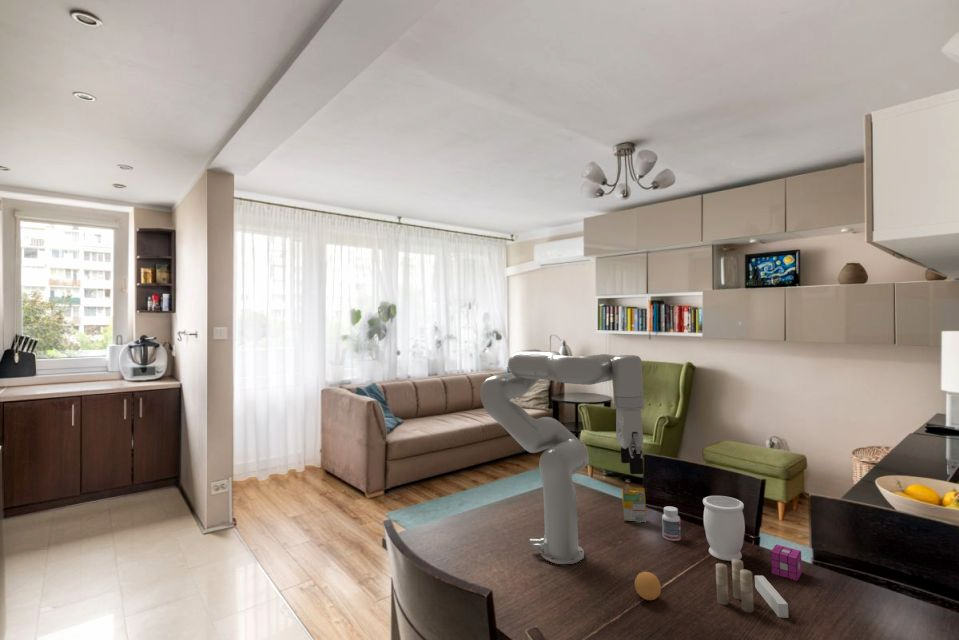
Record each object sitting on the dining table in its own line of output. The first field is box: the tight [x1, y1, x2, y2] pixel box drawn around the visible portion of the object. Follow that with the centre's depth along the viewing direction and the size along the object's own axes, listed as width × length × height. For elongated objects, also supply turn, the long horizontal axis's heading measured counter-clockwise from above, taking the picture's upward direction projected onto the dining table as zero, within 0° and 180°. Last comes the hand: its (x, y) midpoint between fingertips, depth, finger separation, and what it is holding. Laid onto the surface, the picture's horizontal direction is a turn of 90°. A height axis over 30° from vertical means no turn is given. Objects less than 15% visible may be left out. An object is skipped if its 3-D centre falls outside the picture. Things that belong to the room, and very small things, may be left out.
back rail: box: [754, 575, 789, 619], centre depth 110 cm, size 2×12×3 cm, turn 172°
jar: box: [702, 495, 746, 562], centre depth 133 cm, size 11×10×15 cm
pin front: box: [715, 562, 729, 606], centre depth 111 cm, size 2×2×8 cm
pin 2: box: [740, 568, 755, 613], centre depth 108 cm, size 2×2×8 cm
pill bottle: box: [661, 506, 682, 542], centre depth 145 cm, size 5×5×9 cm
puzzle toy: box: [770, 544, 803, 582], centre depth 122 cm, size 6×6×6 cm
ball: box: [634, 571, 662, 601], centre depth 113 cm, size 6×6×6 cm
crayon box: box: [621, 486, 647, 524], centre depth 158 cm, size 7×3×12 cm, turn 77°
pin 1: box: [731, 559, 744, 600], centre depth 113 cm, size 2×2×8 cm
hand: (631, 468), depth 122 cm, fingers open, 9 cm apart
